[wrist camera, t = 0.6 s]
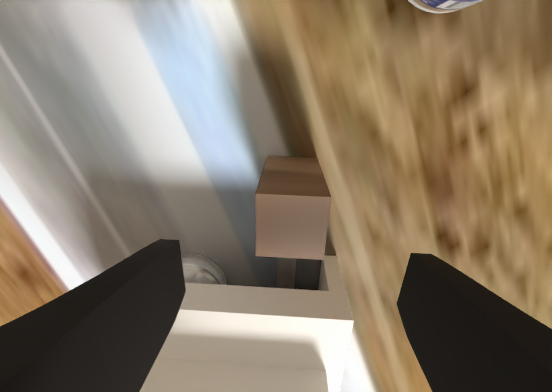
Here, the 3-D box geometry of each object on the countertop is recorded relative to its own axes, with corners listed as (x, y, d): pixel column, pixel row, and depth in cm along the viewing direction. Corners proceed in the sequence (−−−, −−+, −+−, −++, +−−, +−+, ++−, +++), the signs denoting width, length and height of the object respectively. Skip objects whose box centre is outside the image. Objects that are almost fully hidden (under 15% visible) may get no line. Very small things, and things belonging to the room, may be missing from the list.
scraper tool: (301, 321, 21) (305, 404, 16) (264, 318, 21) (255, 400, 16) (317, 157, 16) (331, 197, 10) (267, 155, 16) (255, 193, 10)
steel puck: (228, 305, 21) (222, 326, 19) (167, 301, 21) (155, 321, 20) (225, 253, 19) (218, 271, 17) (158, 249, 19) (144, 267, 18)
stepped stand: (323, 344, 22) (340, 475, 15) (148, 332, 23) (80, 452, 15) (336, 256, 19) (366, 369, 11) (128, 244, 19) (26, 345, 12)
